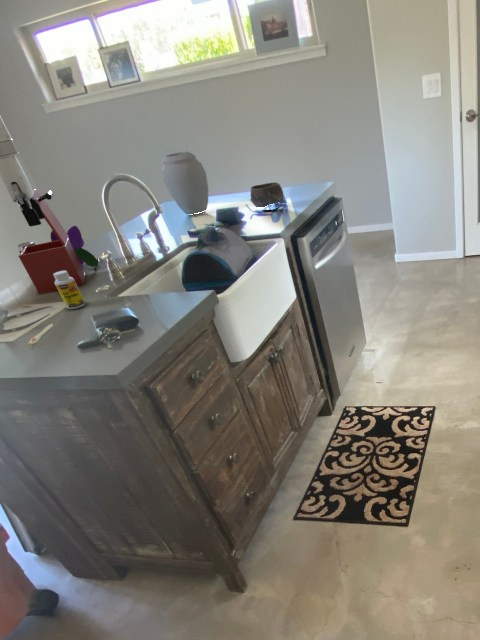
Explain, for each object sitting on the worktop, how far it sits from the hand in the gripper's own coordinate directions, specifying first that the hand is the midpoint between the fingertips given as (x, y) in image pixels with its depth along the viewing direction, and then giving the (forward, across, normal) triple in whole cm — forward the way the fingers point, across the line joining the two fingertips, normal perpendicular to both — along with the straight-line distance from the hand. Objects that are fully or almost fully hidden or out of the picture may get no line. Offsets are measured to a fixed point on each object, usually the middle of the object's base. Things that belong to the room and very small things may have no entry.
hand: (37, 222), depth 149 cm
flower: (+23, -45, 0) cm, 51 cm away
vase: (+24, -105, +48) cm, 118 cm away
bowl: (+24, -79, +79) cm, 114 cm away
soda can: (+23, -43, -15) cm, 51 cm away
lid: (+3, -29, -2) cm, 29 cm away
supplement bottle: (+24, +3, -1) cm, 24 cm away
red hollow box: (+23, -29, -7) cm, 38 cm away
